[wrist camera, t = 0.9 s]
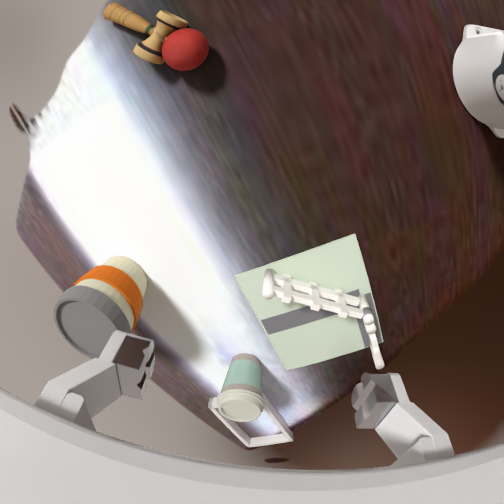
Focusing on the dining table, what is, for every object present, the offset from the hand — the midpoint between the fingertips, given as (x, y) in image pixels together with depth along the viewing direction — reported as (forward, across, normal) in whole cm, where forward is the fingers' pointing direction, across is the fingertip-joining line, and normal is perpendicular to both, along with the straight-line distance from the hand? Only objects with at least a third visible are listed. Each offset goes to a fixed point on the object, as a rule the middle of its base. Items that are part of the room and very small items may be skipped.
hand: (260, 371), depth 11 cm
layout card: (+35, -14, +22) cm, 43 cm away
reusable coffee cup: (+36, +21, +23) cm, 48 cm away
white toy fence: (+34, -12, +16) cm, 40 cm away
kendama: (+36, +19, -18) cm, 44 cm away
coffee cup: (+36, -4, +38) cm, 52 cm away
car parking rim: (+36, -9, +58) cm, 69 cm away
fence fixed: (+34, -24, +23) cm, 47 cm away
